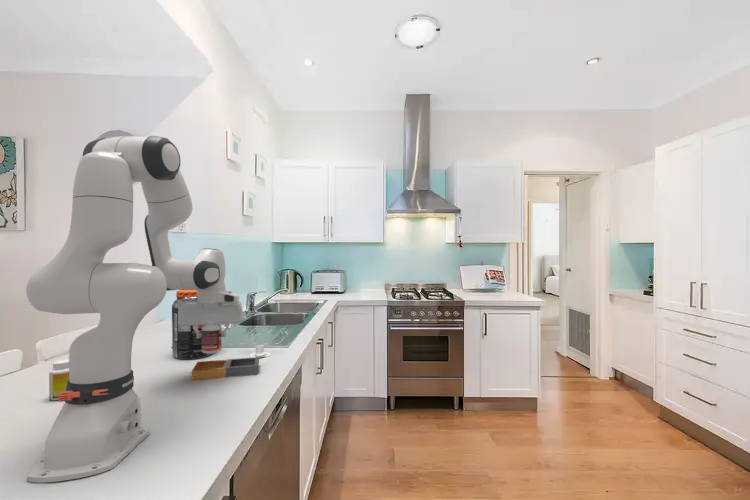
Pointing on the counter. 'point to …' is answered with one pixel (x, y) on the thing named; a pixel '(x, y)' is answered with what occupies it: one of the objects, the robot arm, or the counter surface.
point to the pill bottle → (211, 337)
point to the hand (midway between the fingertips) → (211, 337)
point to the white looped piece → (260, 352)
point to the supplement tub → (185, 333)
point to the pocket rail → (225, 368)
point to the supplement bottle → (58, 378)
